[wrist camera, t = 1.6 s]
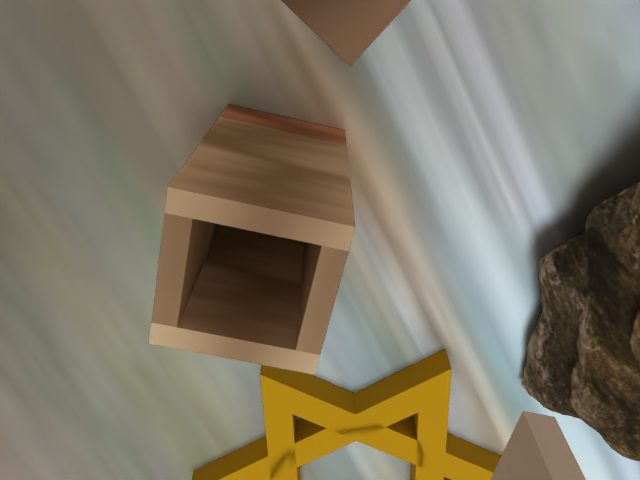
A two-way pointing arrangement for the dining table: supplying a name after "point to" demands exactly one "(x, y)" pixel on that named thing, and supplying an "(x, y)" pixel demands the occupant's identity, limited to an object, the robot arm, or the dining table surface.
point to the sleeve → (255, 241)
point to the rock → (593, 325)
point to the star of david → (357, 426)
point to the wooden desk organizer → (347, 22)
